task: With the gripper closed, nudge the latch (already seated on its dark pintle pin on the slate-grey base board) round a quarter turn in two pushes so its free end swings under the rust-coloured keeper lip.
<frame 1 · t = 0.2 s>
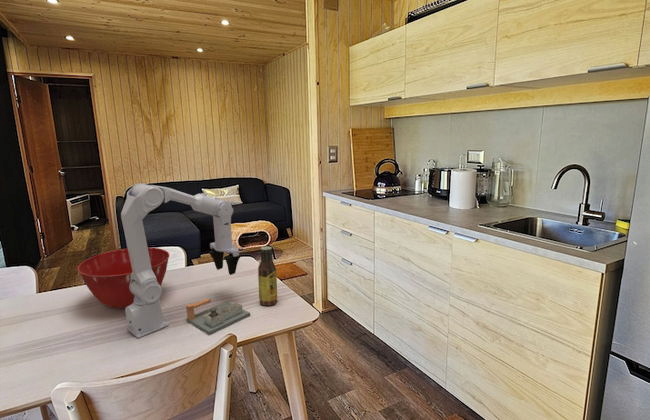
hand: (225, 271, 132), 10 cm above the table, fingers open, 7 cm apart
mixing bowl: (131, 300, 133), on the table
keeper: (200, 317, 120), resting on base
base: (218, 318, 119), on the table
sauce bottle: (268, 302, 129), on the table
latch: (224, 313, 117), point 2 cm above the table, hinge at 0.0°
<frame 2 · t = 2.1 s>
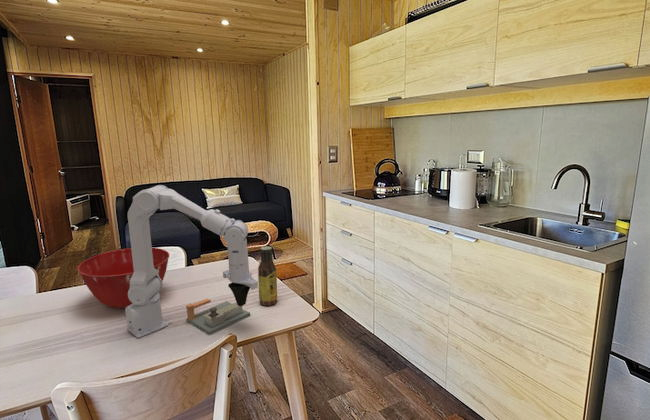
hand: (241, 304, 113), 7 cm above the table, fingers closed
nothing on the table moved.
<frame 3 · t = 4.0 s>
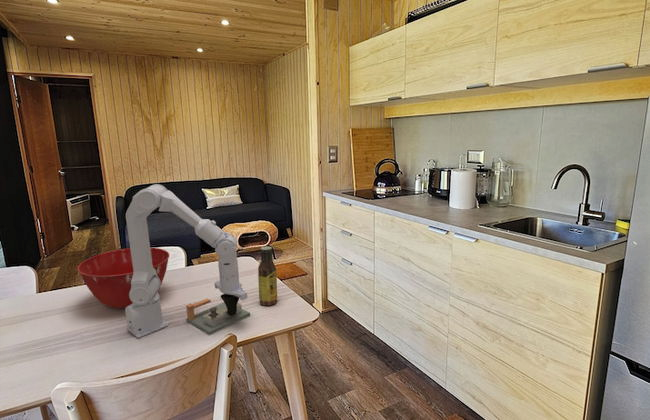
hand: (232, 314, 117), 2 cm above the table, fingers closed, pressing on latch
latch: (223, 313, 117), point 2 cm above the table, hinge at 3.4°, touching gripper
everything else where it was.
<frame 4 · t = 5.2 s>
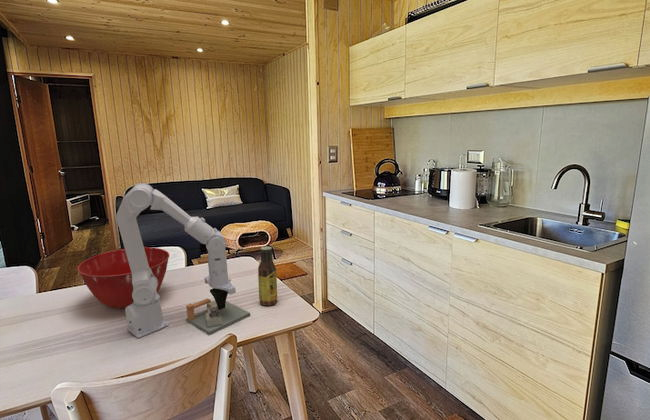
hand: (221, 308, 121), 2 cm above the table, fingers closed, pressing on latch
latch: (212, 313, 117), point 2 cm above the table, hinge at 62.1°, touching gripper
everything else where it was.
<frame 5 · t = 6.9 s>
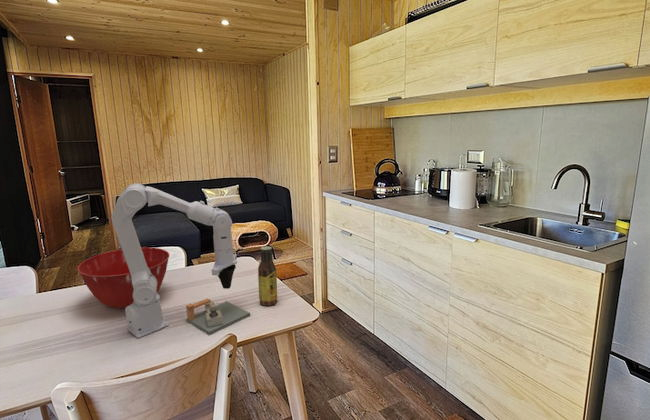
hand: (226, 287, 121), 8 cm above the table, fingers closed
latch: (212, 313, 117), point 2 cm above the table, hinge at 65.8°
everything else where it was.
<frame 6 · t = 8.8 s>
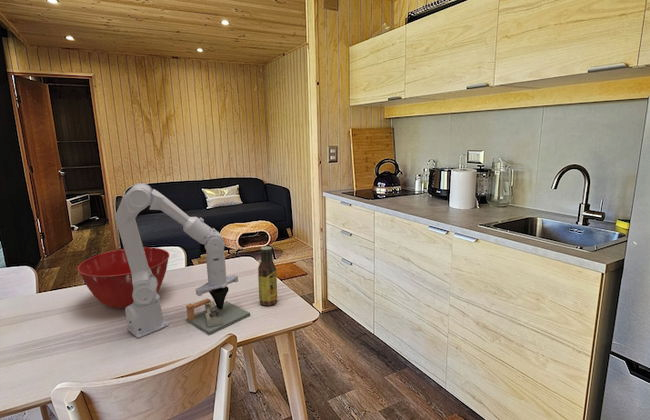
hand: (219, 308, 121), 2 cm above the table, fingers closed, pressing on latch
latch: (212, 313, 117), point 2 cm above the table, hinge at 65.9°, touching gripper
everything else where it was.
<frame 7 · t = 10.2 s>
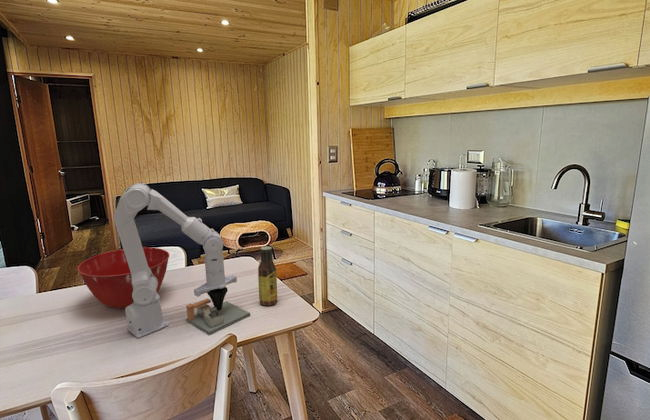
hand: (218, 309, 121), 2 cm above the table, fingers closed
latch: (208, 314, 117), point 2 cm above the table, hinge at 82.0°
everything else where it was.
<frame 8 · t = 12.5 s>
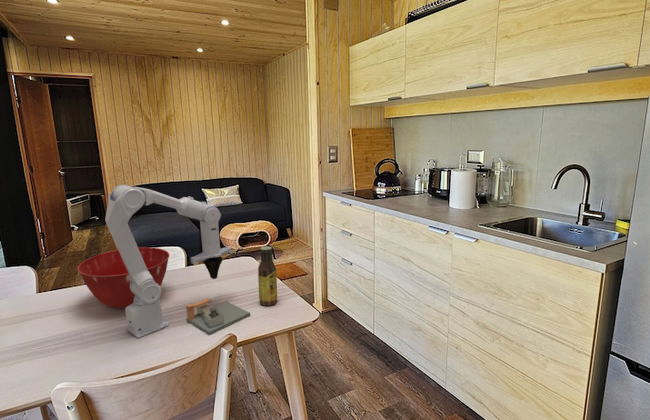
hand: (213, 277, 127), 9 cm above the table, fingers closed
nothing on the table moved.
at the end: latch at +82° (first picture: +0°) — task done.
